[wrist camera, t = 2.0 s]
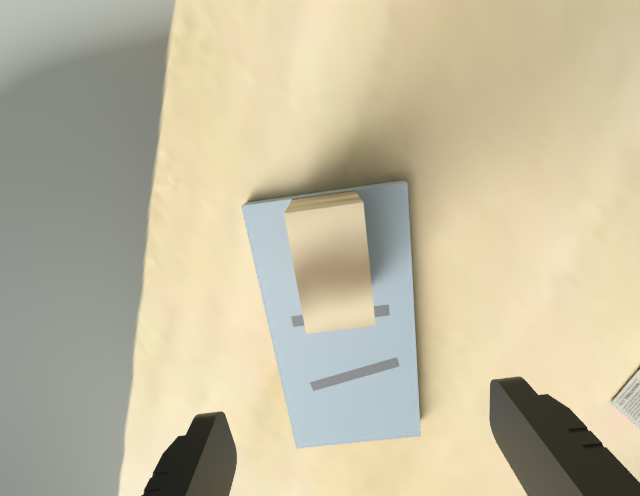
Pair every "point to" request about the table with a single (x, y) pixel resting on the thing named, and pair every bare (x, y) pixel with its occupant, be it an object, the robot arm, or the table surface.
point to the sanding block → (331, 261)
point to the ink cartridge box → (630, 400)
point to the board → (350, 344)
